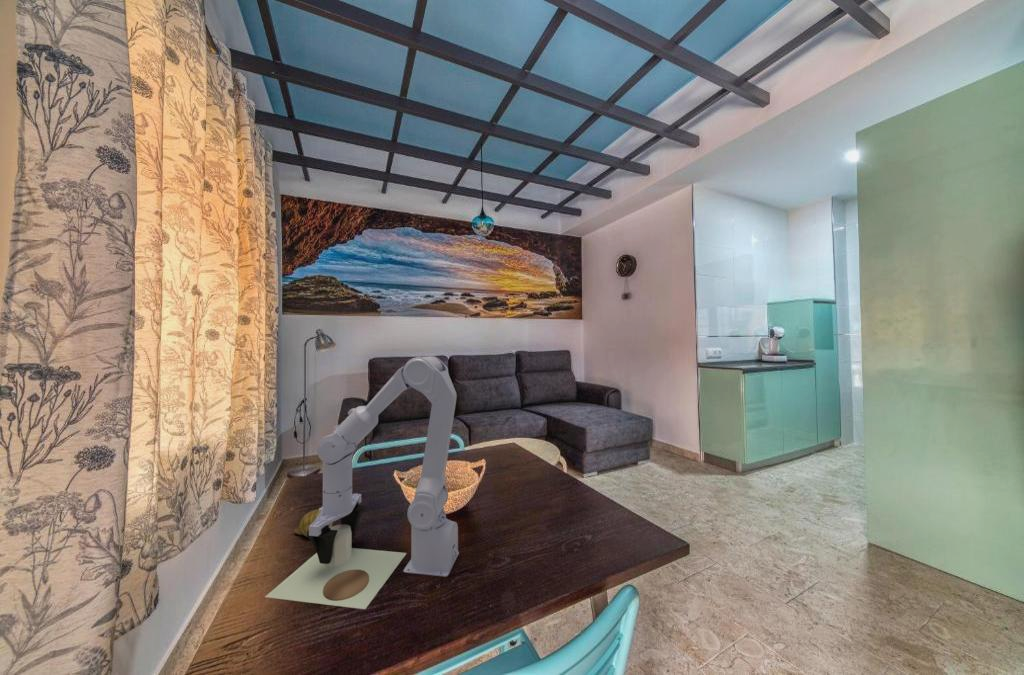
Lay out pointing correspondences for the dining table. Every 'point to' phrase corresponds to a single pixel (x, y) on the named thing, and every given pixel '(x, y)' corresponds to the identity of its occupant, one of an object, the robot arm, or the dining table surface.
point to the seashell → (307, 522)
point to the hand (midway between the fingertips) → (337, 551)
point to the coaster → (345, 585)
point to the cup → (341, 545)
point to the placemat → (315, 575)
